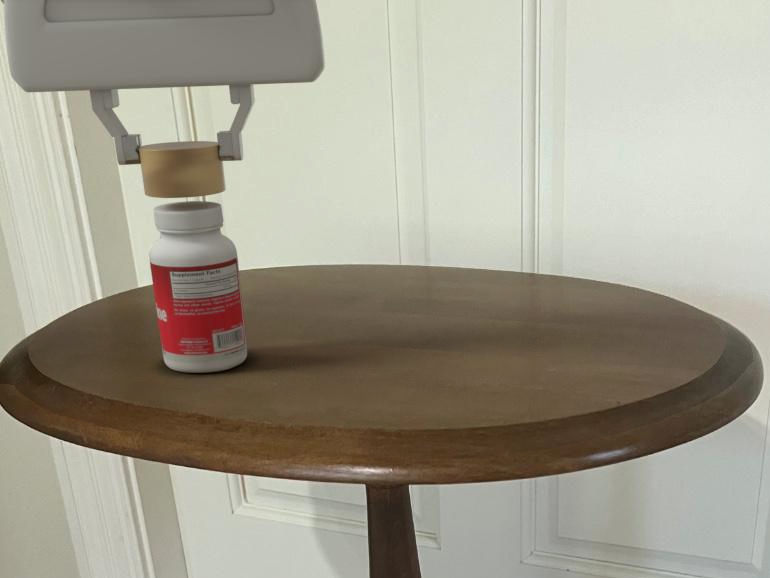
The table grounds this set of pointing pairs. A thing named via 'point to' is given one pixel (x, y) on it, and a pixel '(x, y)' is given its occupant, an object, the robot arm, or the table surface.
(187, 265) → the pill bottle
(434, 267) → the table surface
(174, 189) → the squat tan drum
